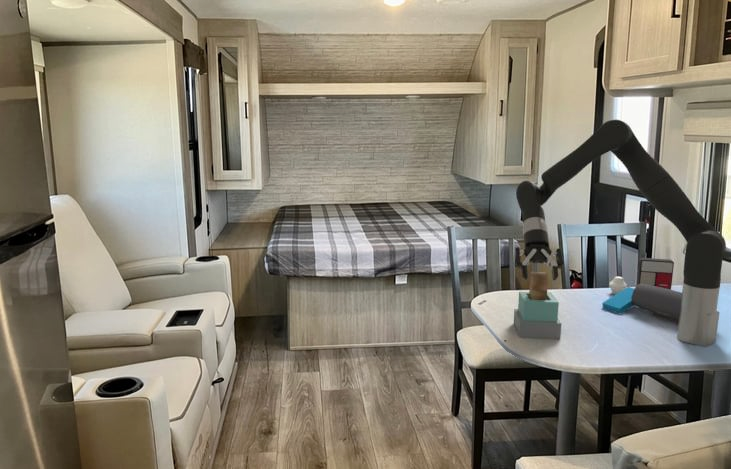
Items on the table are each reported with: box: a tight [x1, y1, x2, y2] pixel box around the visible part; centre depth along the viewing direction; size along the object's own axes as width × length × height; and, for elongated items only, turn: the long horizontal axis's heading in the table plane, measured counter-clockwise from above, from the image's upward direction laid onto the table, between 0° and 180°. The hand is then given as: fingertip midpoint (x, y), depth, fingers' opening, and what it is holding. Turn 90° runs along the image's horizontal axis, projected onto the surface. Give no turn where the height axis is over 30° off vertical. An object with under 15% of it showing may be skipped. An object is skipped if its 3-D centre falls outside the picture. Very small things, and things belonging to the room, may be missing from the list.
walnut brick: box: [528, 271, 549, 300], centre depth 168 cm, size 4×4×8 cm
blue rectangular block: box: [601, 286, 635, 314], centre depth 194 cm, size 7×7×18 cm
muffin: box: [609, 276, 628, 295], centre depth 209 cm, size 6×6×7 cm
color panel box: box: [636, 257, 675, 290], centre depth 202 cm, size 11×4×15 cm, turn 73°
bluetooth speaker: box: [631, 284, 682, 324], centre depth 181 cm, size 23×9×10 cm, turn 30°
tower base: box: [513, 291, 562, 340], centre depth 170 cm, size 12×12×11 cm
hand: (540, 278), depth 166 cm, fingers open, 8 cm apart
